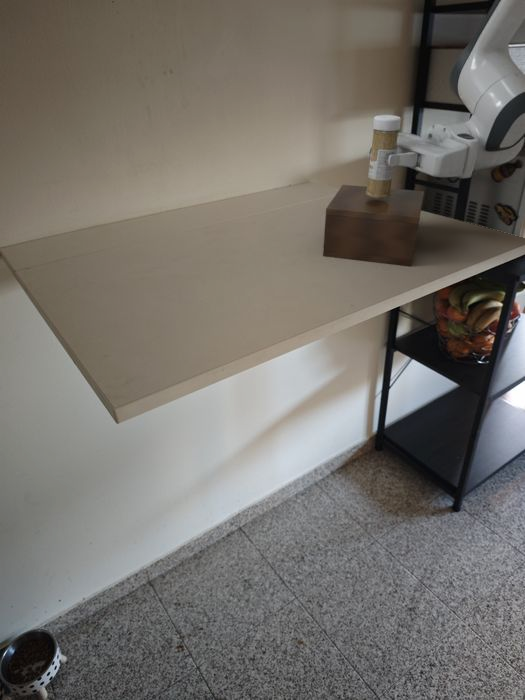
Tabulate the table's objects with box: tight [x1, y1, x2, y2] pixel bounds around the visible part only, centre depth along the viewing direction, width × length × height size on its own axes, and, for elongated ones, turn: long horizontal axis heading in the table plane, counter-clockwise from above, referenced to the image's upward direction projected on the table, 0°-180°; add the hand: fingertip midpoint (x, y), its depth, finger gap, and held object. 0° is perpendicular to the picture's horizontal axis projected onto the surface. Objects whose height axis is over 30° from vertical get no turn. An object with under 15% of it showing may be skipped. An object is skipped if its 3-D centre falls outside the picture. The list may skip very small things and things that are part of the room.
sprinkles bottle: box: [366, 114, 402, 198], centre depth 88 cm, size 5×5×14 cm
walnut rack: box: [322, 184, 425, 267], centre depth 95 cm, size 16×16×9 cm
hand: (378, 156), depth 88 cm, fingers closed on sprinkles bottle, 4 cm apart
